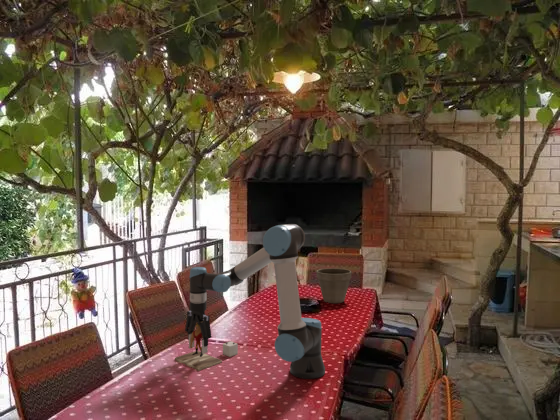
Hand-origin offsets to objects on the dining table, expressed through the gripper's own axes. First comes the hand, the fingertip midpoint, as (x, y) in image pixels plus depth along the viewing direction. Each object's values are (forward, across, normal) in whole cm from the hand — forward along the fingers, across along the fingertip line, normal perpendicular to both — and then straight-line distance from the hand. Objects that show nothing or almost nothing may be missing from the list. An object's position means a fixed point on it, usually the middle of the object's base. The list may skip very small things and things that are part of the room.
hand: (198, 350), depth 203 cm
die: (+5, +4, +16) cm, 17 cm away
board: (+5, 0, 0) cm, 5 cm away
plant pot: (+5, -20, +135) cm, 137 cm away
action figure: (+2, 0, 0) cm, 2 cm away
